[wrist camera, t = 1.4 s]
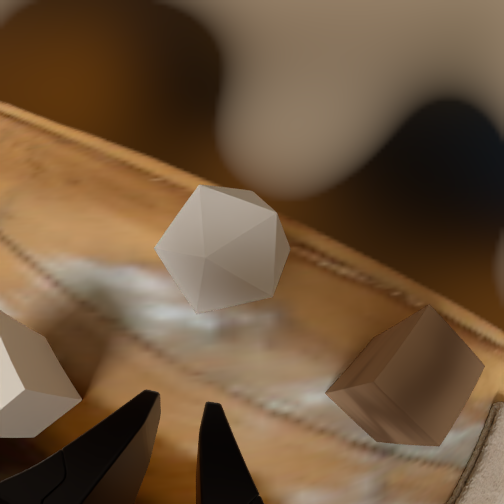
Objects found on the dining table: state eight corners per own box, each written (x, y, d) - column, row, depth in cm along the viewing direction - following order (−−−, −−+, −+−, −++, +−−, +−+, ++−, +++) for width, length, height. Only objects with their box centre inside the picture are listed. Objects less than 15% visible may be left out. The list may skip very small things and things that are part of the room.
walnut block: (419, 384, 22) (484, 366, 15) (376, 441, 19) (439, 446, 12) (373, 338, 23) (429, 304, 16) (324, 393, 21) (373, 381, 14)
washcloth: (397, 564, 14) (415, 574, 11) (487, 398, 21) (509, 393, 19) (466, 574, 11) (483, 580, 8) (536, 434, 19) (555, 430, 16)
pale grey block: (82, 399, 19) (25, 389, 12) (34, 437, 16) (-31, 436, 9) (45, 337, 21) (-13, 302, 14) (0, 374, 18) (-62, 351, 11)
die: (294, 256, 27) (262, 148, 22) (307, 329, 20) (265, 190, 15) (205, 279, 28) (159, 182, 23) (190, 353, 21) (118, 236, 16)
